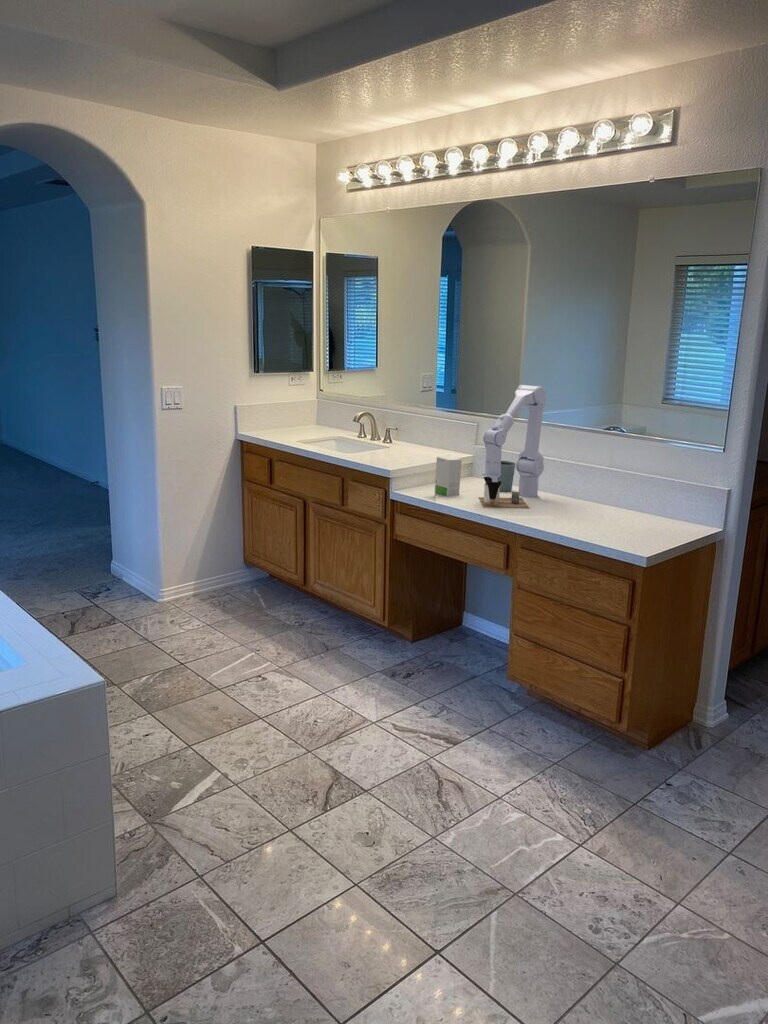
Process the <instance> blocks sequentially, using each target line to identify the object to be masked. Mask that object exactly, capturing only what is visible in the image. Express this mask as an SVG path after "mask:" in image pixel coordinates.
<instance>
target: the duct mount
mask: <svg viewBox="0 0 768 1024" xmlns="http://www.w3.org/2000/svg"><path fill="white" fill-rule="evenodd" d="M478 500H479V503H480V505H481V506H482V507H483V509H522V510H524V509H531V508H530V506H529V505H528V504H527V502H526V501H525V500H524V499H523V498H522V497H520V495H519V491H511V497H499V503H498V504H486V503H484V496H482V497H481V496H479V497H478Z"/></svg>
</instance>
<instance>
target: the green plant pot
mask: <svg viewBox="0 0 768 1024" xmlns="http://www.w3.org/2000/svg"><path fill="white" fill-rule="evenodd" d="M515 470H516V462H513V461H508V460H501V472H500V473H501V476H500V477H499V479H498V481H501V482H502V483H501V485H500V493H512V492H513V490H512V489H513V482H514V475H515Z"/></svg>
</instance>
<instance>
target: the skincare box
mask: <svg viewBox="0 0 768 1024" xmlns="http://www.w3.org/2000/svg"><path fill="white" fill-rule="evenodd" d="M462 461H463V459H462V458H458V457H456V456H453V455H452V456H451V455H441V456H436V461H435V462H436V463H435V464H436V465H435V466H436V467H435V479H434V480H435V481H434V496H437V495H440V496H445V497H454V496H459V495H460V487H461V485H460V484H461V473H462V472H461V471H462Z"/></svg>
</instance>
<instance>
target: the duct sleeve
mask: <svg viewBox="0 0 768 1024" xmlns="http://www.w3.org/2000/svg"><path fill="white" fill-rule="evenodd" d="M483 488H484V489H483V497H484V503H486V504H498V503H499V498H500V495H501V494H500V493H501V492H500V486H499V489H498V492H497V496H496V499H490V498H489V489H488V485H487V483H486V482H485V483H484V487H483Z"/></svg>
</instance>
